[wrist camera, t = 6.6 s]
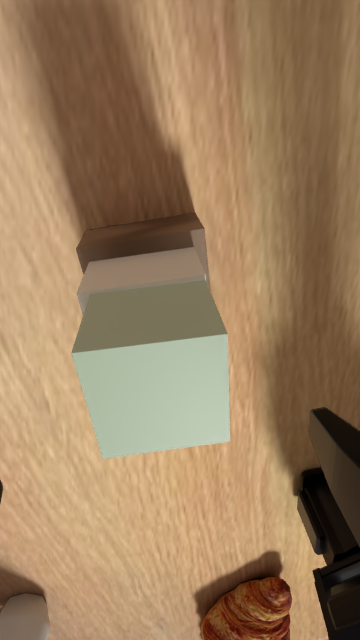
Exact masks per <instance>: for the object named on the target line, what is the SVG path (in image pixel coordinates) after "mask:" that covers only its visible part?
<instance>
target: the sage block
mask: <svg viewBox="0 0 360 640" xmlns="http://www.w3.org/2000/svg"><path fill="white" fill-rule="evenodd" d="M71 354H72V357H73V361H74V364H75V367H76V371H77V374H78V377H79V381H80V384H81V388H82V391H83V394H84V398H85V401H86V404H87V408H88V411H89V415H90V418H91V421H92V425H93V428H94V431H95V435H96V438H97V442H98V445H99V448H100V452H101V455H102V458H103V459H106V458H114V457H121V456H128V455H135V454H143V453H150V452H157V451H165V450H172V449H179V448H186V447H194V446H201V445H208V444H215V443H223V442H230V416H229V371H228V333H227V331H226V329H225V326H224V324H223V321H222V319H221V316H220V314H219V311H218V309H217V307H216V304H215V302H214V299H213V297H212V294H211V292H210V290H209V287H208V285H207V282H206V280H205V281H196V282H188V283H179V284H171V285H162V286H154V287H145V288H137V289H129V290H120V291H112V292H103V293H95V294H90V296H89V299H88V302H87V305H86V308H85V312H84V315H83V318H82V321H81V324H80V328H79V331H78V334H77V337H76V340H75V344H74V347H73V350H72V353H71Z"/></svg>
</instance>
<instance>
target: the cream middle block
mask: <svg viewBox="0 0 360 640" xmlns="http://www.w3.org/2000/svg"><path fill="white" fill-rule="evenodd" d="M205 280H206V274H205V272H204V269H203V267H202V265H201V262H200V260H199V257H198V255H197V253H196V250H195V248H194V247H190V248H183V249H176V250H169V251H162V252H155V253H148V254H141V255H134V256H127V257H120V258H113V259H106V260H99V261H92V262H89V263H88V266H87V268H86V271H85V274H84V276H83V279H82V281H81V284H80V286H79V289H78V291H77V296H78V299H79V303H80V306H81V310H82V313H83V315H84V312H85V308H86V305H87V302H88V299H89V296H90V294H95V293H103V292H112V291H120V290H129V289H137V288H145V287H154V286H162V285H171V284H179V283H188V282H196V281H205Z"/></svg>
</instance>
